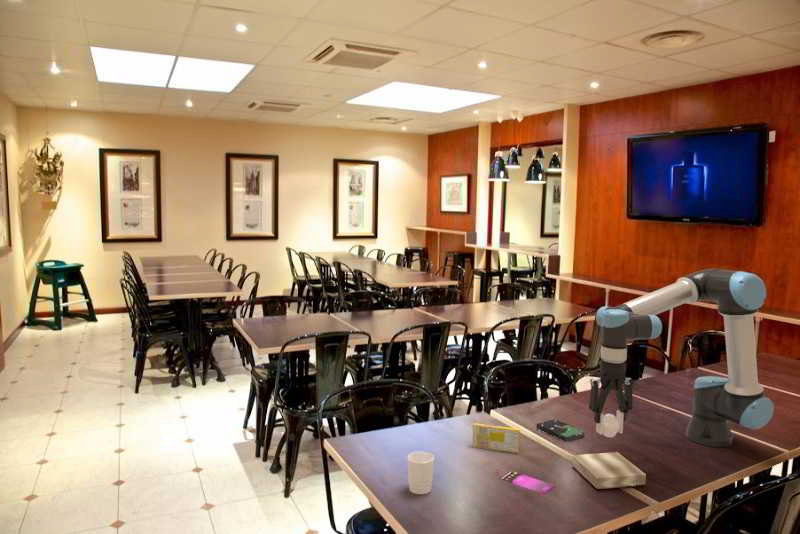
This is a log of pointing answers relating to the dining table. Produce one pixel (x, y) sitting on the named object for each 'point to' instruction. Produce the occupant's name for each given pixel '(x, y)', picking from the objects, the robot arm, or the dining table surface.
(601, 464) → the beige satin panel
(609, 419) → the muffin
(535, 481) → the smartphone
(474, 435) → the candy box
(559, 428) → the disk drive
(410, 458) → the white cup
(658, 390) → the dining table surface
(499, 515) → the dining table surface
